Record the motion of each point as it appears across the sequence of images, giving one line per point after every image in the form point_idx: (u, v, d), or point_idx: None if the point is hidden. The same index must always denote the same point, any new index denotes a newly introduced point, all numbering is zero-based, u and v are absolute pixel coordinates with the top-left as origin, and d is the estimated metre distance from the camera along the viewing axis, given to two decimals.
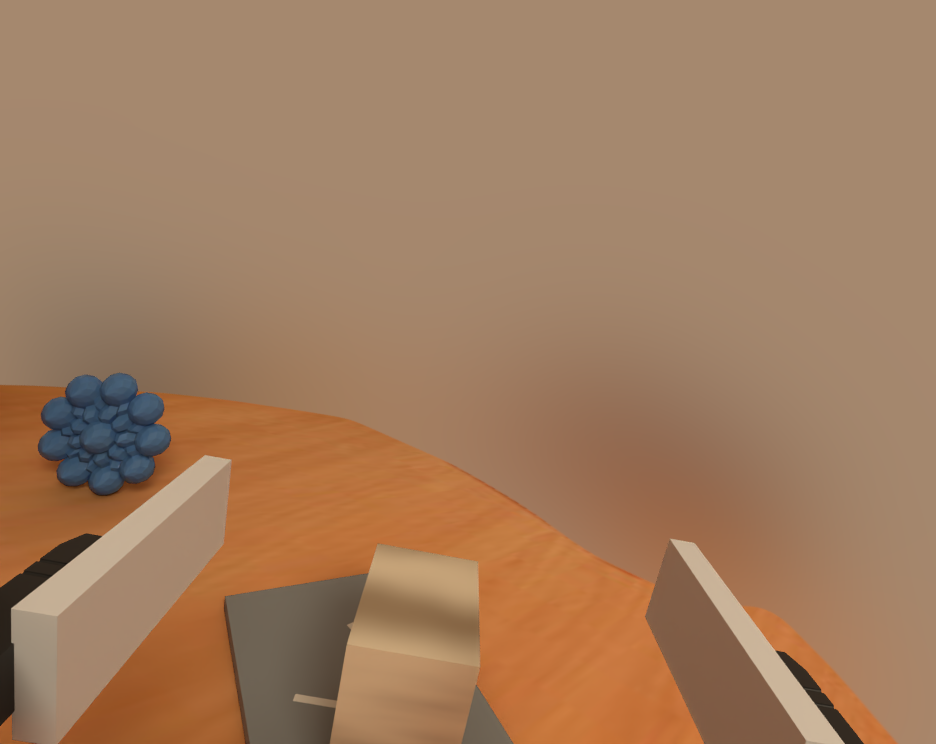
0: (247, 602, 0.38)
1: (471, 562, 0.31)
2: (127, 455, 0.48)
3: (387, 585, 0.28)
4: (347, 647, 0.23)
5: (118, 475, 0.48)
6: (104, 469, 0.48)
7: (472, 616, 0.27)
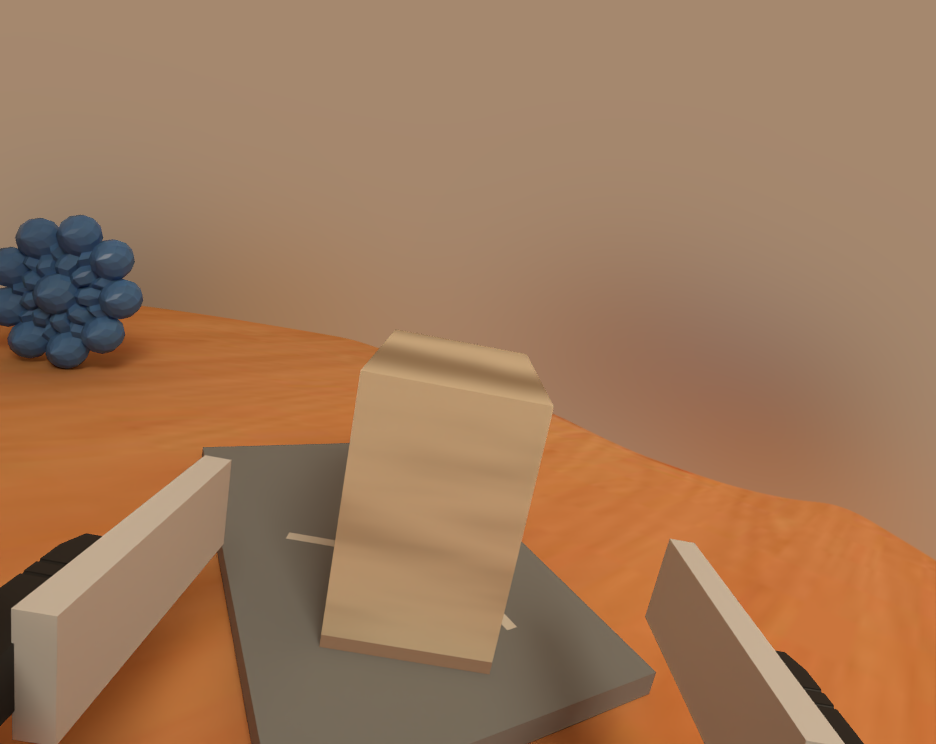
0: (230, 454, 0.31)
1: (518, 353, 0.24)
2: (91, 317, 0.40)
3: (412, 349, 0.20)
4: (361, 375, 0.16)
5: (81, 343, 0.41)
6: (63, 334, 0.40)
7: (531, 379, 0.19)
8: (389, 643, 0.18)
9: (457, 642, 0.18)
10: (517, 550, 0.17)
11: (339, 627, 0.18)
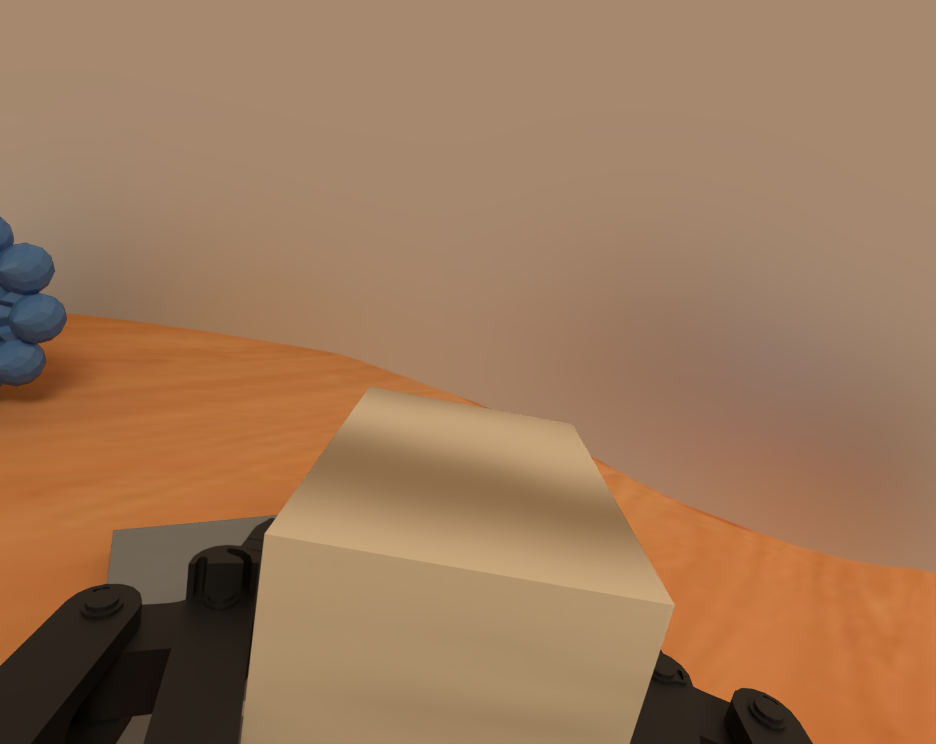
0: (150, 540, 0.22)
1: (561, 424, 0.15)
2: (0, 341, 0.32)
3: (389, 437, 0.12)
4: (267, 544, 0.07)
5: None
6: None
7: (601, 499, 0.11)
8: None
9: None
10: None
11: None
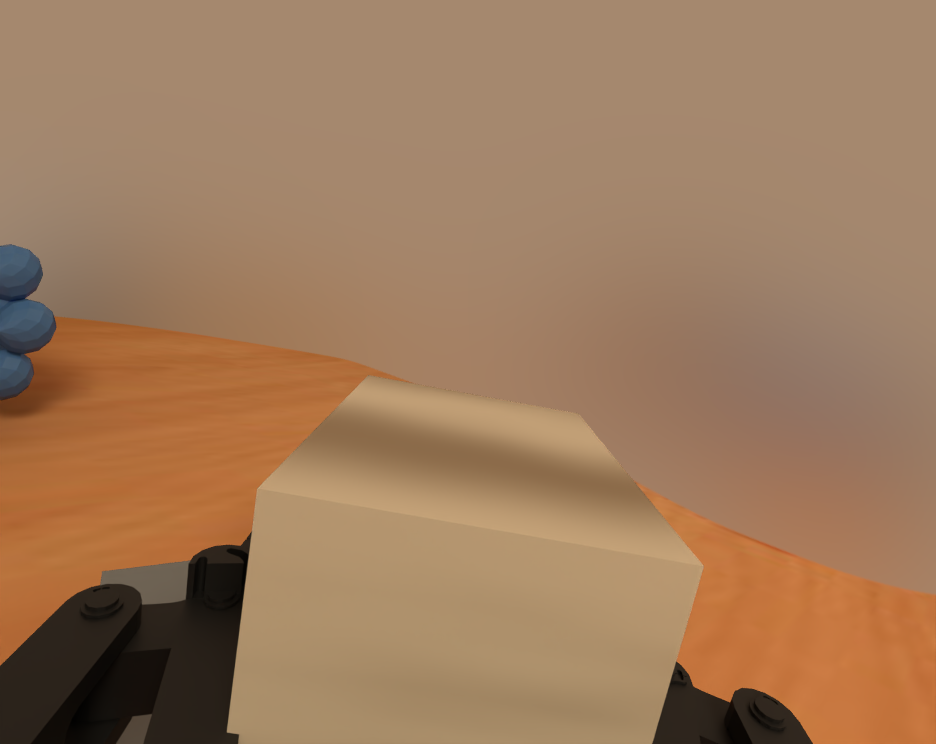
0: (144, 583, 0.20)
1: (567, 413, 0.15)
2: None
3: (390, 415, 0.11)
4: (260, 500, 0.07)
5: None
6: None
7: (614, 474, 0.10)
8: None
9: None
10: None
11: None
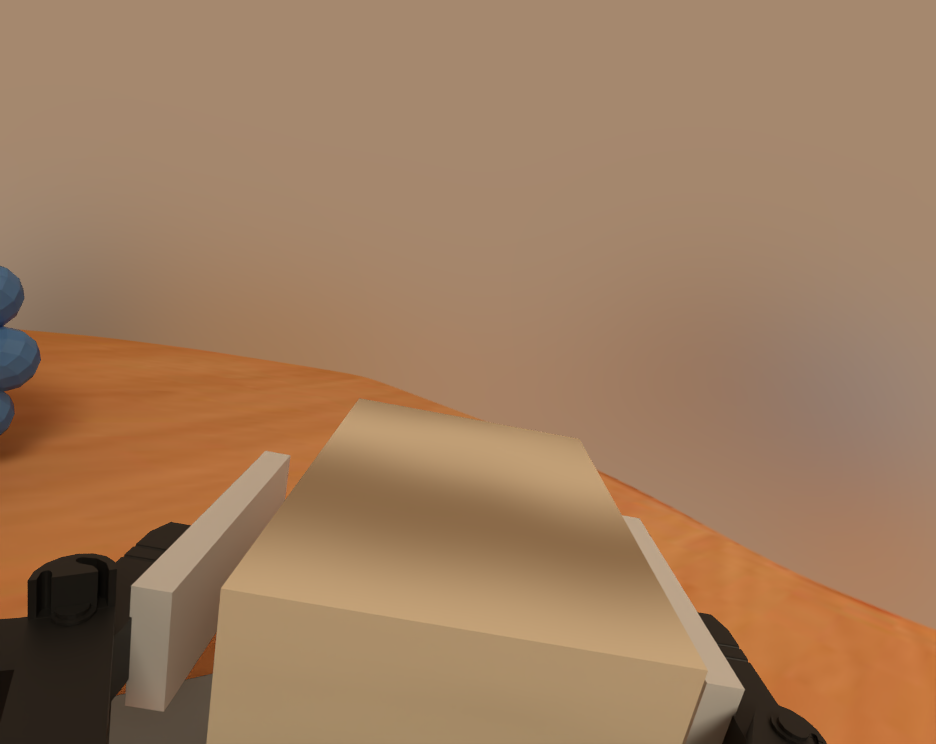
0: (148, 717, 0.15)
1: (567, 439, 0.14)
2: None
3: (377, 458, 0.11)
4: (224, 600, 0.06)
5: None
6: None
7: (615, 530, 0.10)
8: None
9: None
10: None
11: None
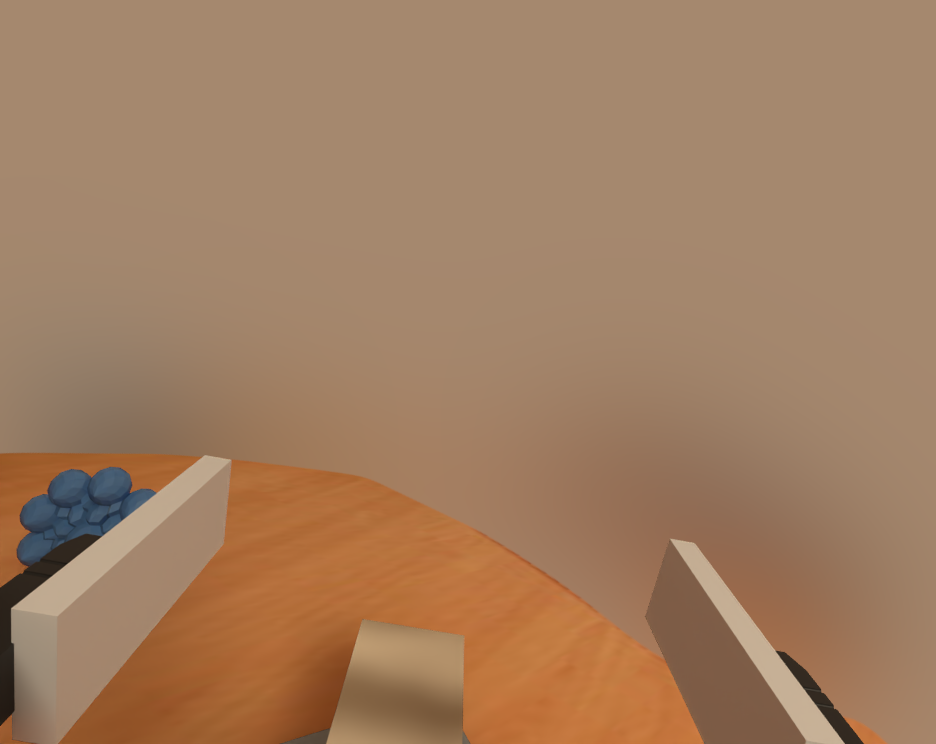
0: None
1: (457, 637, 0.31)
2: None
3: (370, 669, 0.27)
4: None
5: None
6: None
7: (456, 703, 0.26)
8: None
9: None
10: None
11: None
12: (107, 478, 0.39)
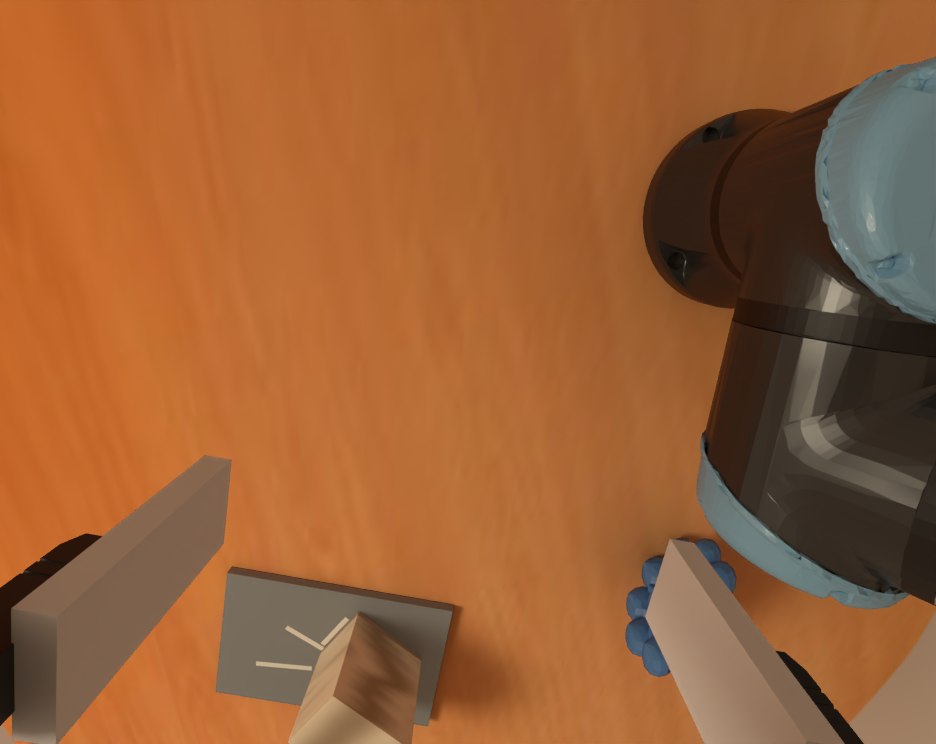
0: (439, 621, 0.52)
1: None
2: None
3: (367, 734, 0.43)
4: (332, 694, 0.42)
5: (646, 585, 0.49)
6: (656, 579, 0.49)
7: None
8: (343, 631, 0.52)
9: (326, 650, 0.51)
10: None
11: (353, 621, 0.51)
12: None
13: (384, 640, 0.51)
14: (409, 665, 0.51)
